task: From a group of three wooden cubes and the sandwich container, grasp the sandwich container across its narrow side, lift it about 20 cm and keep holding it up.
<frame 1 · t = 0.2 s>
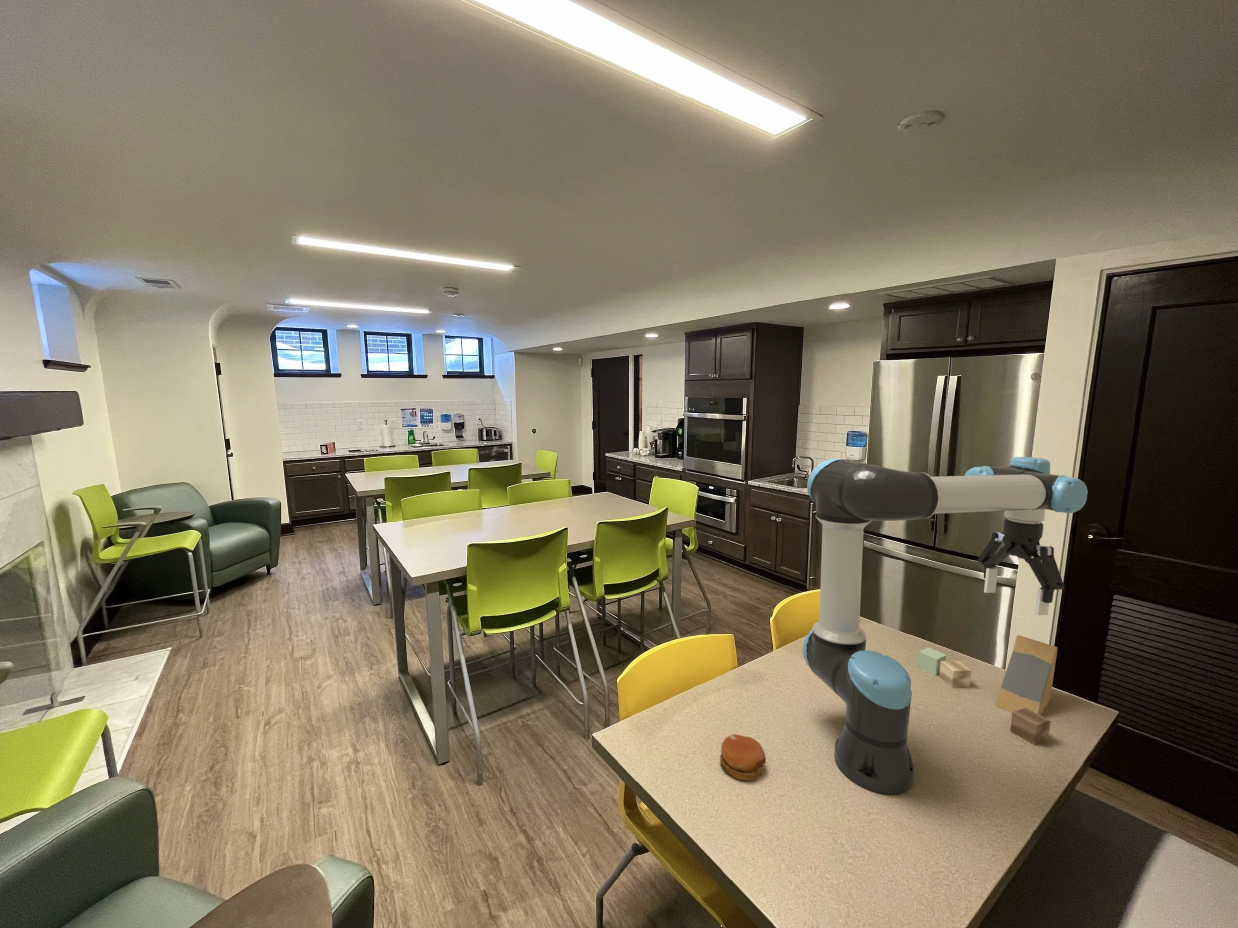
hand: (1013, 602, 122), 28 cm above the table, fingers open, 13 cm apart
burger: (741, 765, 105), on the table
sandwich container: (1022, 703, 127), on the table
walnut cube: (1028, 735, 114), on the table
sage cube: (931, 669, 142), on the table
maple cube: (954, 682, 136), on the table
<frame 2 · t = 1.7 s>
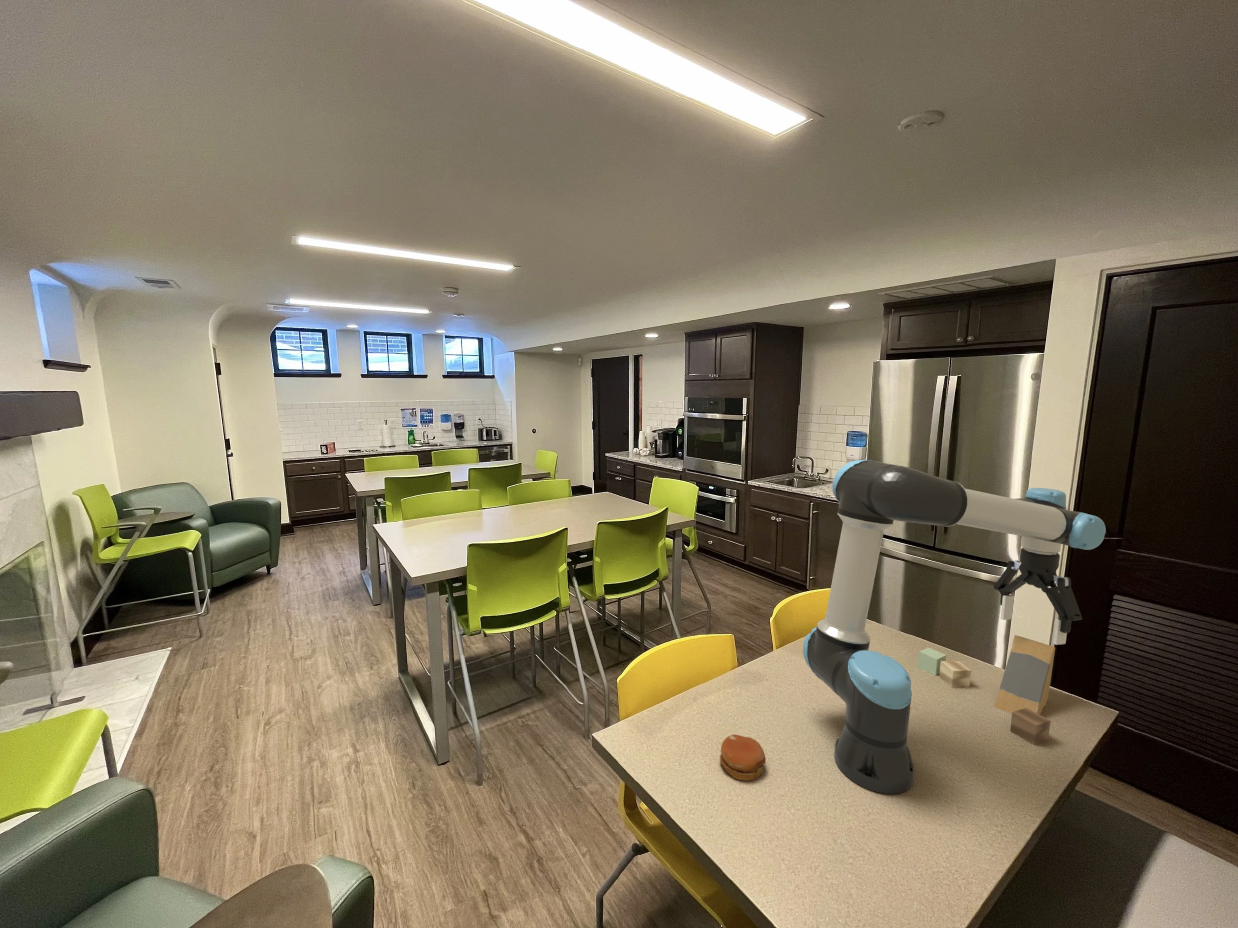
hand: (1031, 630, 124), 20 cm above the table, fingers open, 13 cm apart
nothing on the table moved.
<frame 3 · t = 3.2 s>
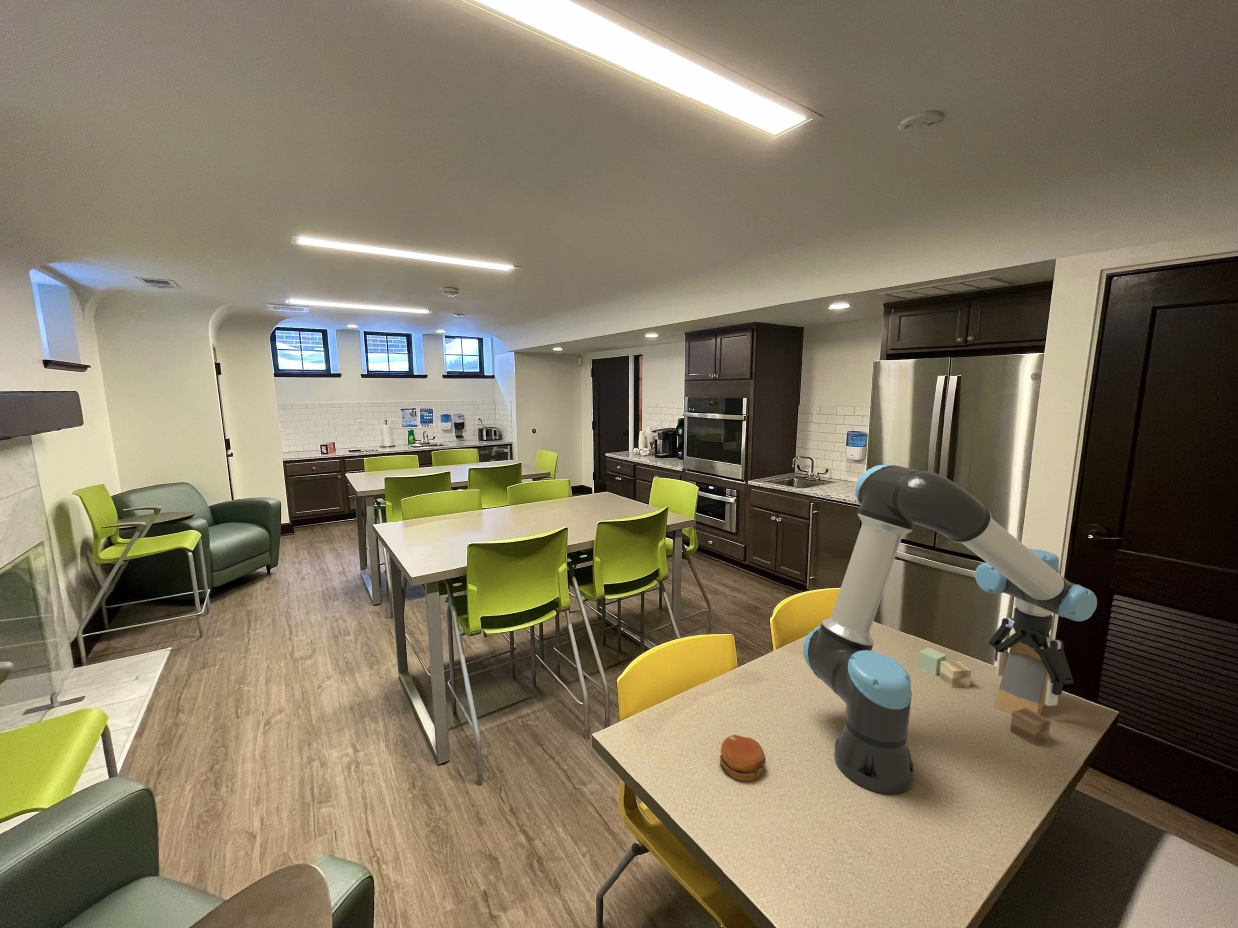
hand: (1024, 688, 126), 4 cm above the table, fingers open, 12 cm apart
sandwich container: (1020, 704, 126), on the table, touching gripper
everything else where it was.
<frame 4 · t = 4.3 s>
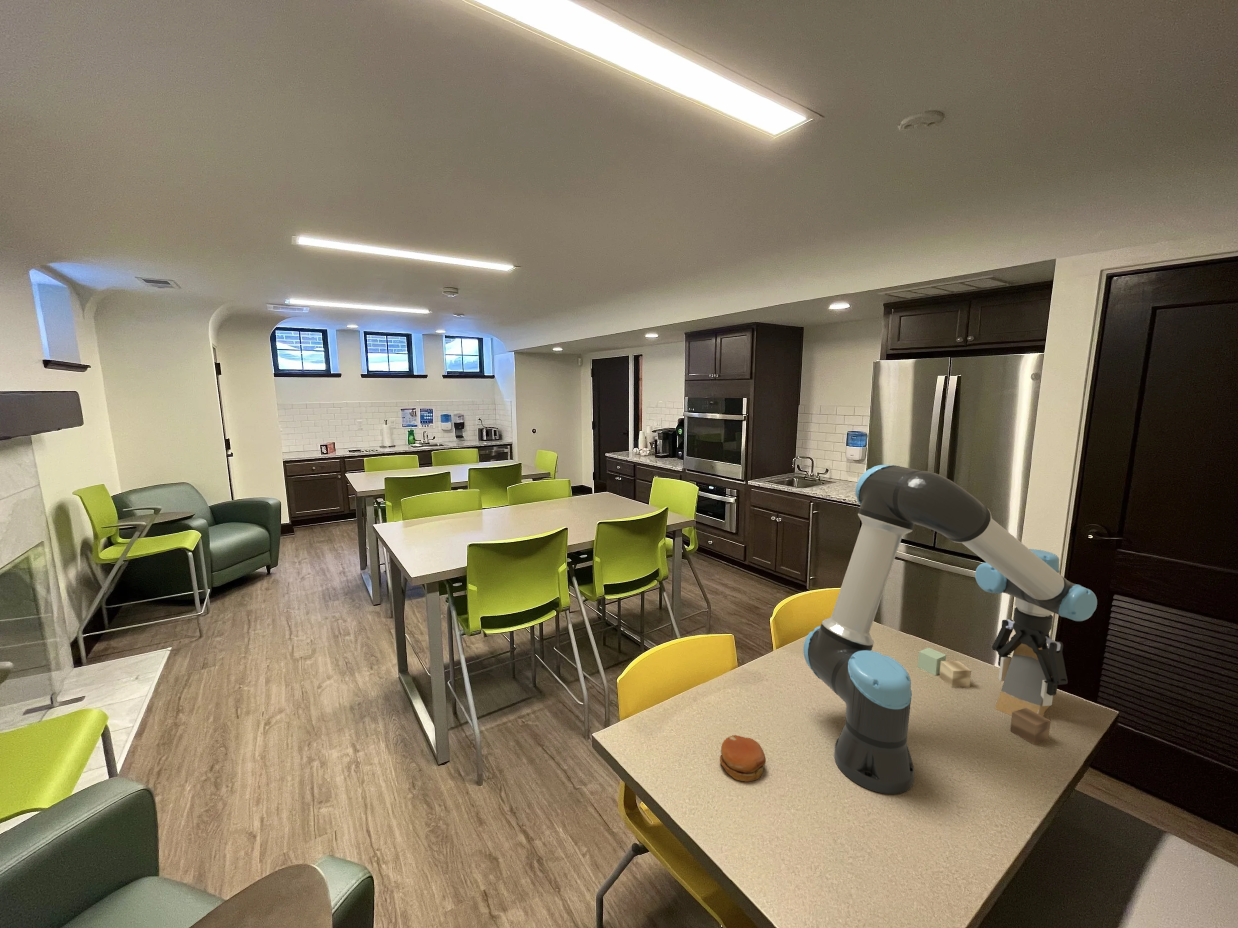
hand: (1023, 691, 126), 3 cm above the table, fingers closed on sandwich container, 10 cm apart
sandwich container: (1022, 706, 125), on the table, touching gripper
everything else where it was.
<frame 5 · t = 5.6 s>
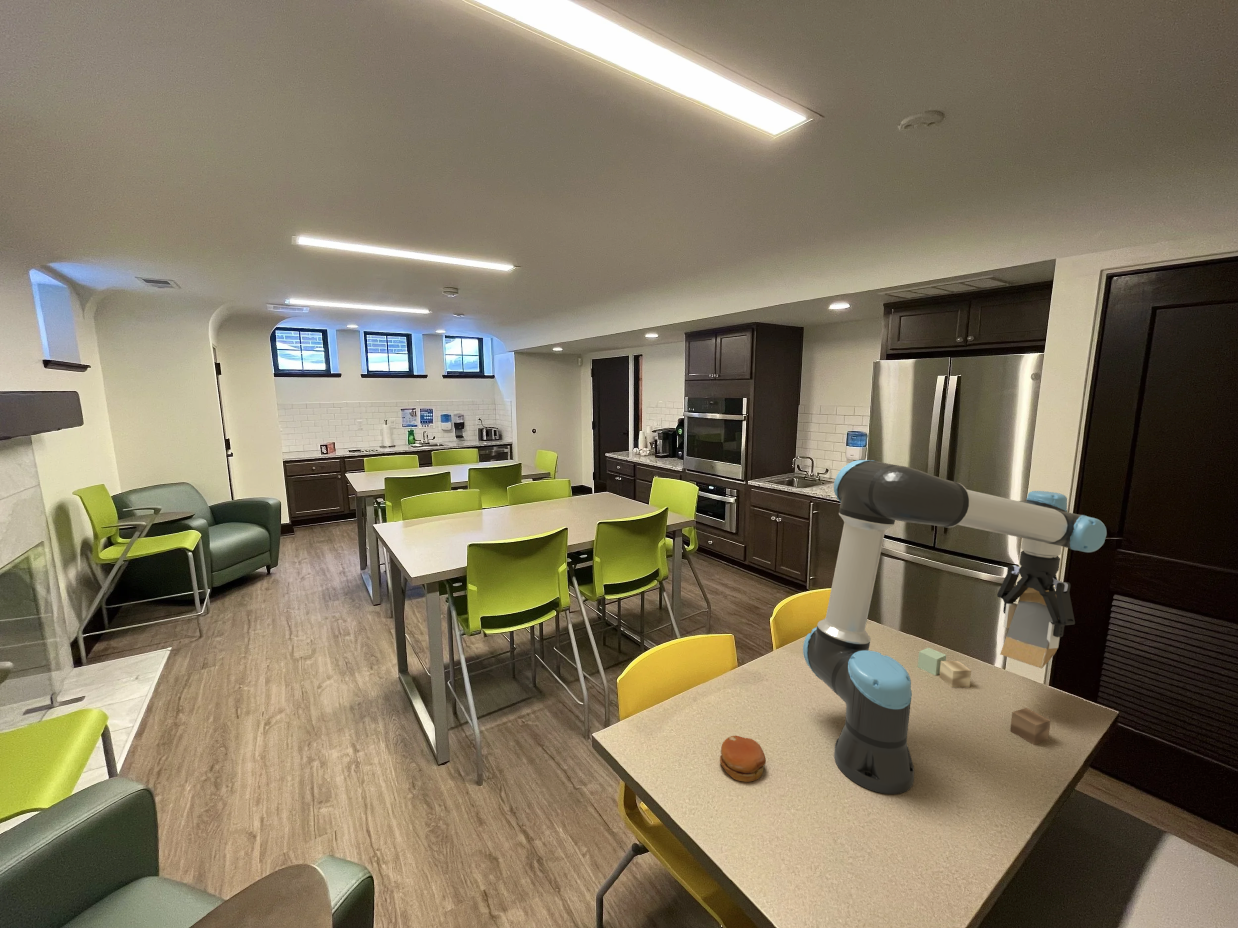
hand: (1029, 636, 124), 18 cm above the table, fingers closed on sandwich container, 10 cm apart
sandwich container: (1028, 652, 123), point 15 cm above the table, touching gripper
everything else where it was.
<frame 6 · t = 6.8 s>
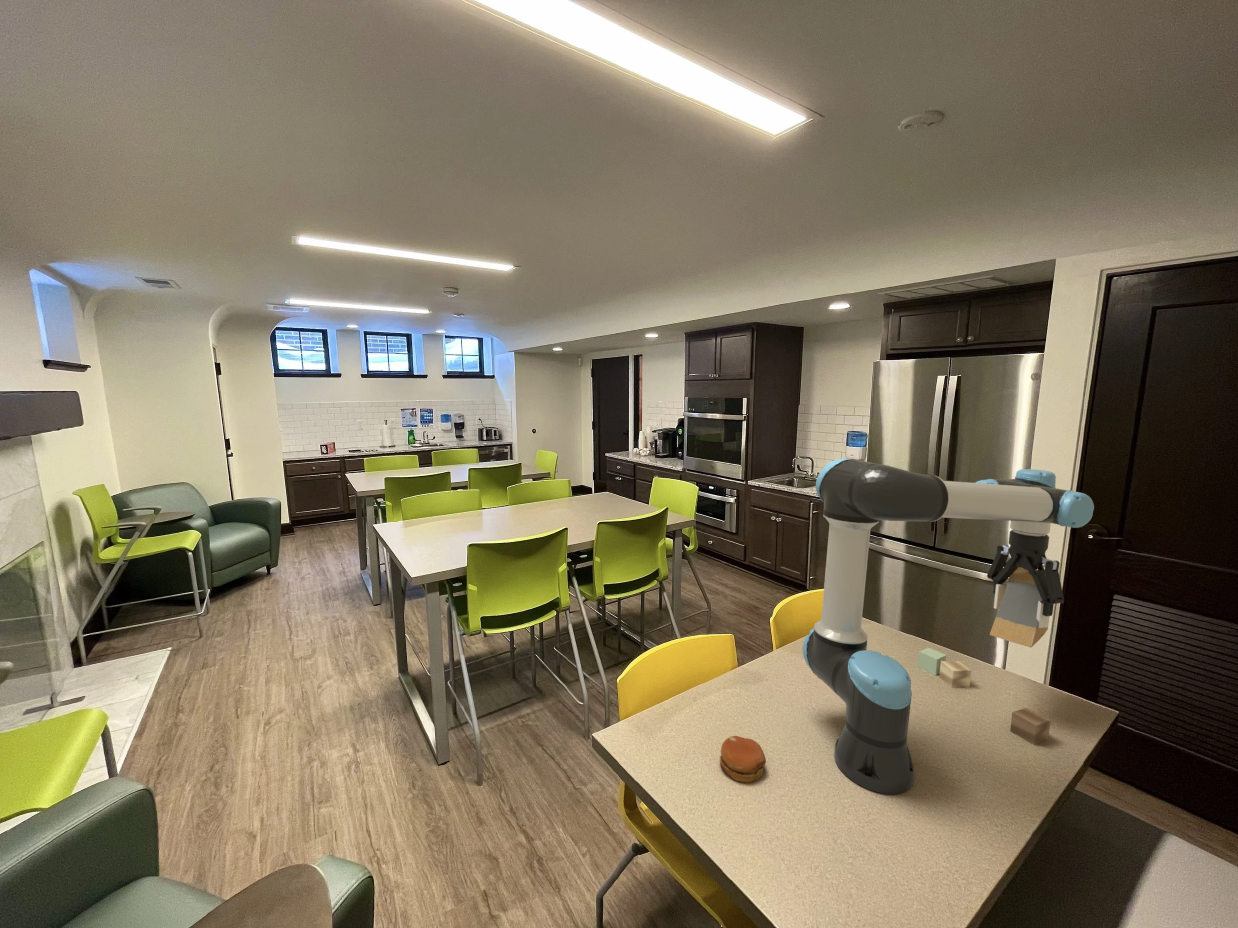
hand: (1019, 617, 123), 24 cm above the table, fingers closed on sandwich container, 10 cm apart
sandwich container: (1018, 632, 122), point 20 cm above the table, touching gripper
everything else where it was.
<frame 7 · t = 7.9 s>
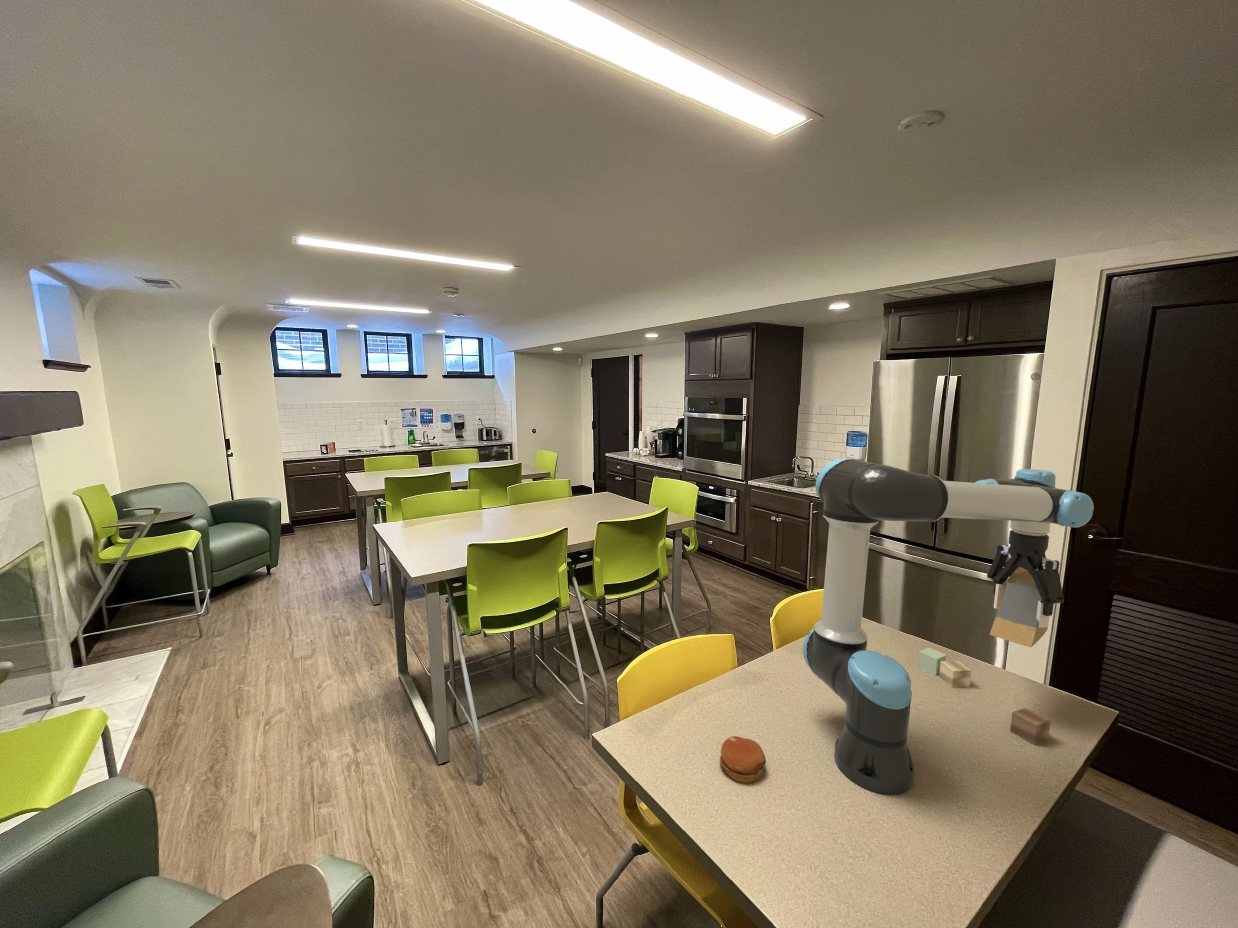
hand: (1019, 616, 123), 24 cm above the table, fingers closed on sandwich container, 10 cm apart
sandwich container: (1018, 632, 122), point 20 cm above the table, touching gripper
everything else where it was.
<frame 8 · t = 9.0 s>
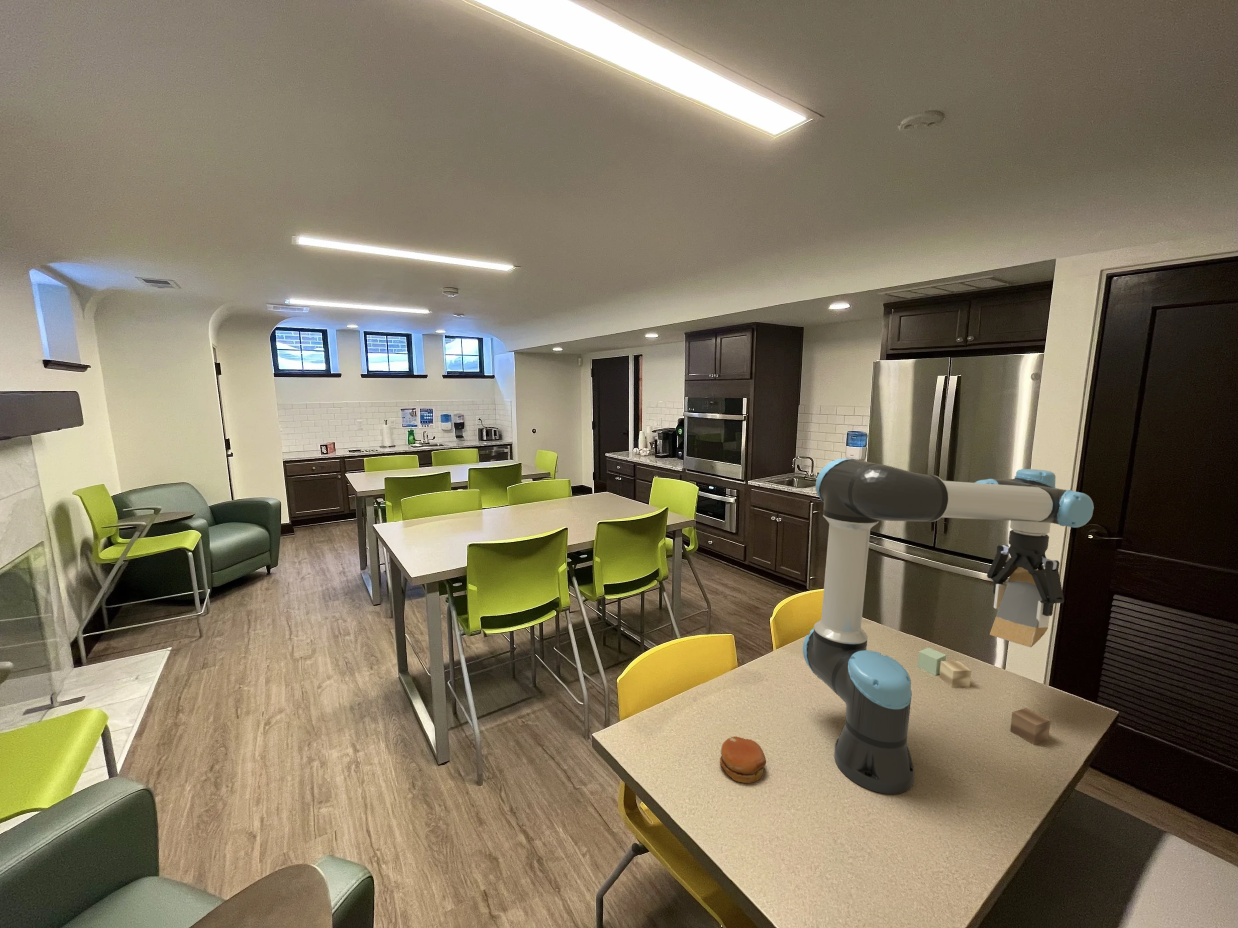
hand: (1019, 616, 123), 24 cm above the table, fingers closed on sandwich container, 10 cm apart
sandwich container: (1018, 632, 122), point 20 cm above the table, touching gripper
everything else where it was.
at the end: the gripper is holding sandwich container; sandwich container point 20.2 cm above the table; maple cube moved 0.1 cm from its start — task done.
